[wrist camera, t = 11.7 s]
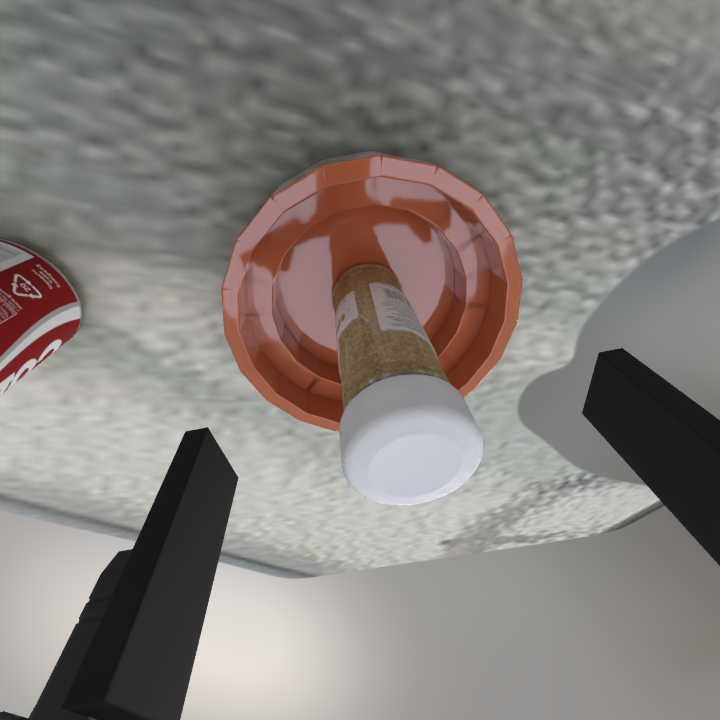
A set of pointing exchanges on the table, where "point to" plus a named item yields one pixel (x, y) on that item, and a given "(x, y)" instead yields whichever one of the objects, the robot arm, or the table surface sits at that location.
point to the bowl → (360, 246)
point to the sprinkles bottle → (396, 397)
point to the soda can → (32, 311)
